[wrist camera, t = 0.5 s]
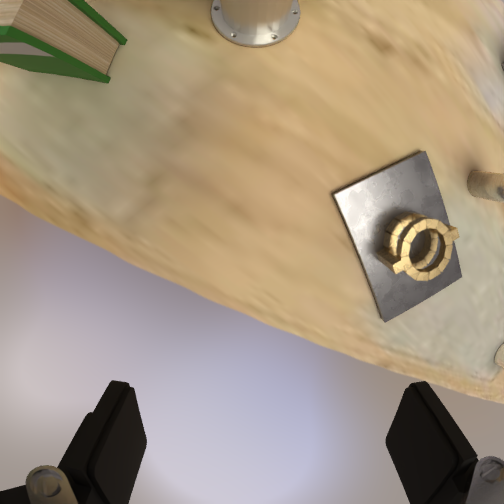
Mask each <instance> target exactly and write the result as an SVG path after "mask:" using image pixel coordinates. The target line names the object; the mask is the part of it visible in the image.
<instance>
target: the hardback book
mask: <svg viewBox="0 0 504 504" xmlns="http://www.w3.org/2000/svg"><path fill="white" fill-rule="evenodd" d="M126 41H127V39H126V38H124V37H123V36H122V35H121V34H120V33H119V32H118V31H117V30H116V29H115V28H114V27H113V26H112V25H111V24H109V23H108V22H107V21H106V20H105V19H104V18H103V17H102V16H101V15H100V14H98V13H97V12H96V11H95V10H94V9H93V8H92V7H91V6H90V5H88V4H87V3H86V2H85V1H84V0H0V62H3V63H6V64H9V65H12V66H15V67H18V68H22V69H25V70H28V71H33V72H41V73H49V74H56V75H63V76H70V77H76V78H82V79H87V80H93V81H98V82H103V83H109V81H110V77H108V76H107V75H106V73H107V70H108V68H109V66H110V63H111V61H112V59H113V56H114V54H115V52H116V50H117V48H118V45H119V44H120V45H125V44H126Z"/></svg>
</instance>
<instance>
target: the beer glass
mask: <svg viewBox="0 0 504 504" xmlns="http://www.w3.org/2000/svg"><path fill="white" fill-rule="evenodd" d="M494 361H495V363H496V364H497V365H499V366H501V367H502V368H503V369H504V343H503V344H502V345H501V346H500V347H499V349H498V350H497V352H496V355H495V359H494Z"/></svg>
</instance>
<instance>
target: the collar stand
mask: <svg viewBox="0 0 504 504" xmlns="http://www.w3.org/2000/svg"><path fill="white" fill-rule="evenodd" d="M332 196H333V198H334V200H335V203H336V205H337V207H338V209H339V212H340V214H341V216H342V218H343V221H344V223H345V225H346V228H347V230H348V233H349V235H350V237H351V240H352V242H353V245H354V247H355V249H356V252H357V254H358V257H359V259H360V262H361V265H362V267H363V270H364V272H365V275H366V277H367V280H368V283H369V285H370V288H371V291H372V293H373V296H374V299H375V302H376V304H377V307H378V310H379V313H380V316H381V319H382V320H383V321H384V322H387V321H389V320H391V319H393V318H394V317H396V316H398V315H400V314H402V313H403V312H405V311H407V310H409V309H410V308H412V307H414V306H416V305H417V304H419V303H421V302H422V301H424V300H426V299H427V298H429V297H431V296H432V295H434V294H436V293H437V292H439V291H441V290H442V289H444V288H445V287H447V286H449V285H450V284H452V283H453V282H455V281H456V280H458V279H459V278H461V277H462V274H461V269H460V265H459V260H458V255H457V251H456V247H455V243H454V240H455V239H457V238H459V234H458V230H457V228H456V227H453V226H450V224H449V220H448V216H447V213H446V210H445V206H444V203H443V200H442V196H441V193H440V190H439V187H438V184H437V181H436V178H435V175H434V173H433V170H432V167H431V164H430V161H429V159H428V156H427V154H426V151H420V152H418V153H416V154H414V155H411V156H409V157H407V158H405V159H403V160H401V161H399V162H397V163H395V164H392V165H390V166H388V167H386V168H384V169H382V170H380V171H378V172H376V173H374V174H372V175H369V176H367V177H365V178H363V179H361V180H359V181H357V182H355V183H353V184H351V185H349V186H347V187H345V188H343V189H340V190H338V191H336V192H334V193H332Z"/></svg>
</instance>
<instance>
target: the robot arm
mask: <svg viewBox="0 0 504 504" xmlns="http://www.w3.org/2000/svg"><path fill="white" fill-rule="evenodd" d="M216 10H217V11H216ZM293 13H295V14H293ZM211 16H212V20H213V23H214V26H215V27H216V29H217V31H218V32H219V33H220V34H221V35H222V36H223V37H225V38H226V39H228V40H229V41H231V42H233V43H236V44H238V45H242V46H247V47H265V46H271V45H274V44H277V43H279V42H281V41H283V40H285V39H286V38H287V37H288V36H290V35H291V34H292V32H293V31H294V30H295V29H296V27H297V24H298V22H299V19H300V7H299V3H298V1H297V0H213V3H212V6H211ZM233 36H235V38H232V37H233ZM272 38H275V40H273V39H272ZM146 445H147V439H146V435H145V431H144V427H143V423H142V419H141V415H140V412H139V407H138V403H137V399H136V394H135V390H134V388H133V387H130V386H129V383H127V382H121V381H114V380H112V381H111V382H110V383H109V385H108V387H107V388H106V390H105V392H104V394H103V395H102V397H101V399H100V401H99V402H98V404H97V406H96V408H95V410H94V411H93V412H90V413H88V414H87V415H86V416H85V418H84V420H83V422H82V423H81V425H80V427H79V429H78V430H77V432H76V434H75V436H74V438H73V439H72V441H71V443H70V445H69V447H68V449H67V450H66V452H65V454H64V456H63V458H62V460H61V461H60V463H59V465H58V467H57V468H56V467H54V466H49V465H45V466H39V467H36V468H35V469H33V470H32V471H30V473H29V474H28V476H27V478H26V485H23V486H19V487H15V488H12V489H8V490H4V491H0V504H128V503H129V500H130V496H131V493H132V490H133V487H134V484H135V480H136V477H137V474H138V471H139V468H140V464H141V461H142V458H143V455H144V452H145V449H146ZM386 446H387V449H388V451H389V454H390V456H391V458H392V461H393V463H394V465H395V468H396V470H397V472H398V475H399V477H400V480H401V482H402V484H403V487H404V489H405V492H406V495H407V497H408V500H409V502H410V504H504V461H503V460H501V459H500V458H497V457H494V456H488V457H484V458H482V459H480V460H478V459H477V454H476V452H475V451H474V449H473V448H472V446H471V445H470V443H469V442H468V440H467V439H466V437H465V436H464V434H463V433H462V431H461V430H460V428H459V427H458V425H457V424H456V422H455V421H454V419H453V418H452V417H451V415H450V414H449V412H448V411H447V409H446V408H445V406H444V405H443V404H442V402H441V401H440V399H439V398H438V396H437V395H436V394H435V392H434V391H433V390H432V388H431V387H430V385H429V384H428V383H427V382H426V381H422V382H416V383H411V384H410V385H409V387H408V388H406V389H405V391H404V394H403V396H402V399H401V402H400V405H399V407H398V410H397V412H396V415H395V418H394V420H393V422H392V425H391V427H390V429H389V432H388V434H387V436H386Z"/></svg>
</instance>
